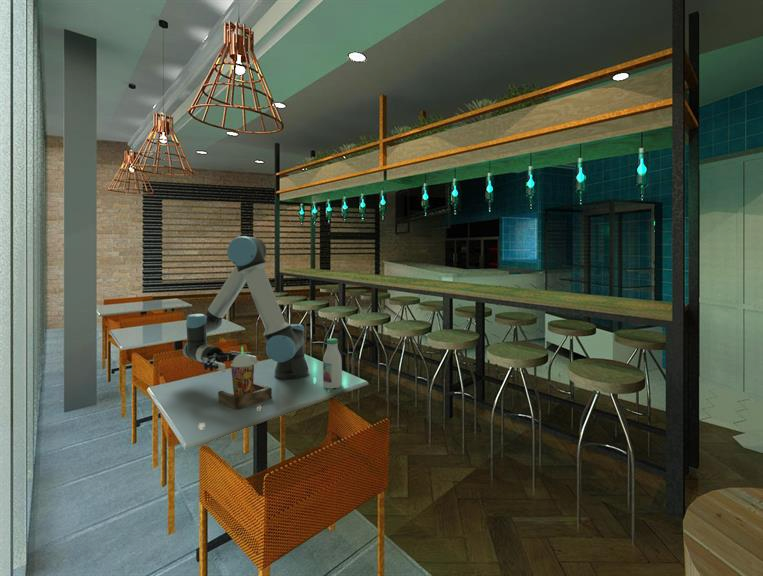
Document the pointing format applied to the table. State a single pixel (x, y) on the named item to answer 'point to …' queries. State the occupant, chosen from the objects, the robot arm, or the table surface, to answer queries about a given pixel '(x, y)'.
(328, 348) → the milk bottle
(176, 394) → the table surface
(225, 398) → the holder
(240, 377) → the smoothie
